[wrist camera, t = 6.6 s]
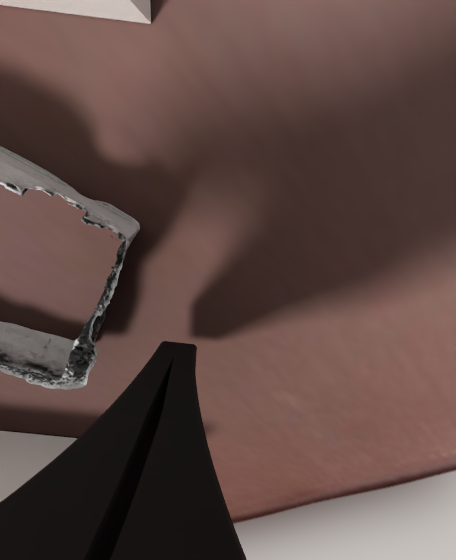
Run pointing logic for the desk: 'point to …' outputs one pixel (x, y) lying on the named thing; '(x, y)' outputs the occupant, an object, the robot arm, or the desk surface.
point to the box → (33, 447)
